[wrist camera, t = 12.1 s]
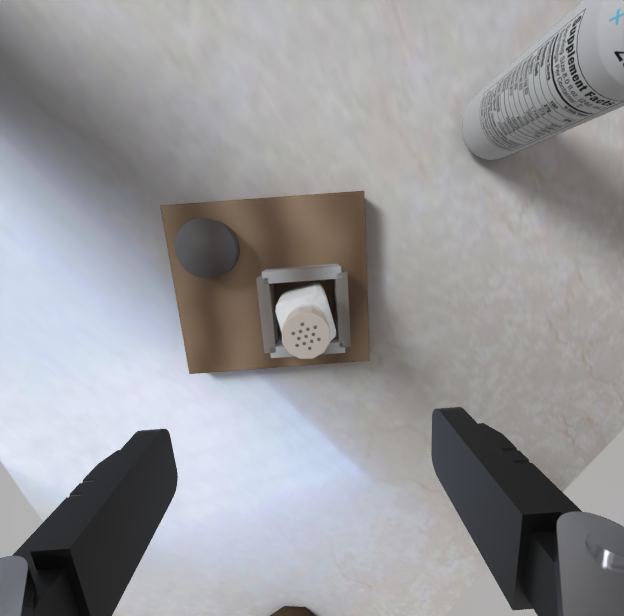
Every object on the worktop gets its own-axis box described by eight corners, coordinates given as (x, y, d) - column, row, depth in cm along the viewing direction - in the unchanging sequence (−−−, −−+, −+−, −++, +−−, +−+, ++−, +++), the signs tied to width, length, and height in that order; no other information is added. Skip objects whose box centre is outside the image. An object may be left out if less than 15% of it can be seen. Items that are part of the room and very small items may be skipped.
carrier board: (196, 365, 31) (176, 388, 27) (170, 208, 28) (141, 200, 23) (365, 353, 31) (376, 373, 27) (360, 194, 28) (371, 184, 23)
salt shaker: (279, 291, 28) (266, 315, 19) (320, 279, 28) (327, 298, 18) (292, 330, 29) (285, 372, 19) (331, 319, 29) (344, 356, 19)
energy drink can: (529, 144, 27) (787, 31, 13) (468, 174, 28) (649, 98, 13) (510, 77, 26) (771, -134, 12) (447, 109, 27) (619, -54, 12)
